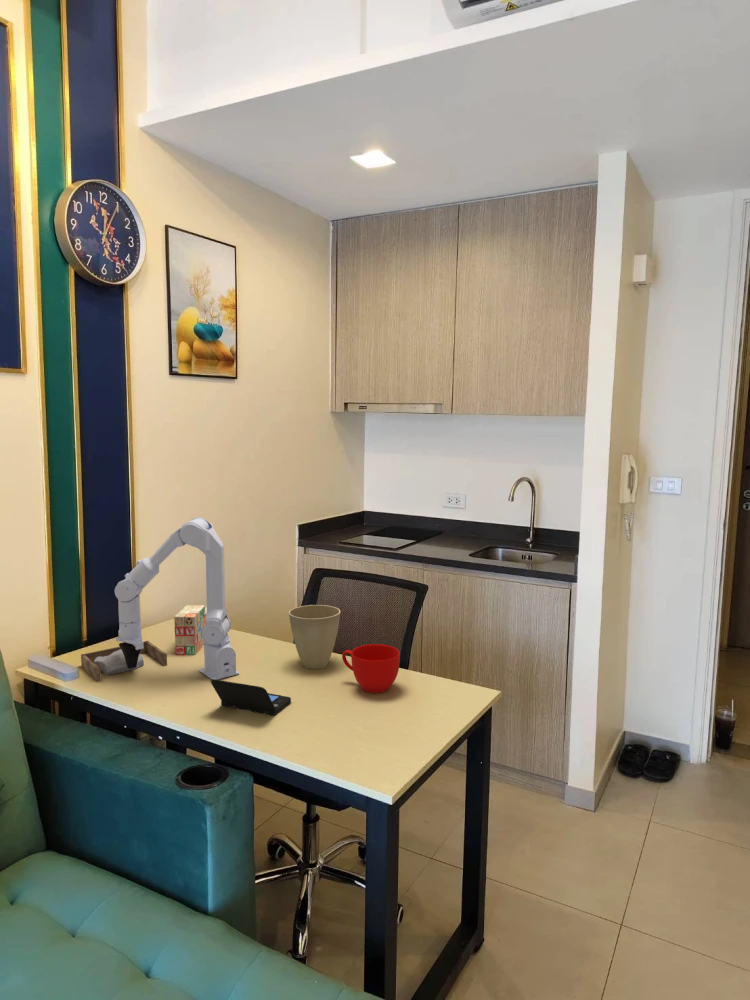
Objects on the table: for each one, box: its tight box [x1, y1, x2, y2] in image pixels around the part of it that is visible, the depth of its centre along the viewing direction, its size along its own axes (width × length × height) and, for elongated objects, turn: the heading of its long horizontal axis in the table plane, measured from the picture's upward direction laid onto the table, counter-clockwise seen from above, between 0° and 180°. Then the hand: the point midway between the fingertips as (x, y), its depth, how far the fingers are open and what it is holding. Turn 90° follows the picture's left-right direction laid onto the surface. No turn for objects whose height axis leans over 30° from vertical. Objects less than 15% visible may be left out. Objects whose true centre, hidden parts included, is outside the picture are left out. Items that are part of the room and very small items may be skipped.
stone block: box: [94, 649, 145, 676], centre depth 197 cm, size 12×5×10 cm
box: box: [80, 640, 168, 682], centre depth 198 cm, size 15×20×4 cm
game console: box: [210, 679, 292, 717], centre depth 170 cm, size 16×14×9 cm
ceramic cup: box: [341, 643, 401, 694], centre depth 183 cm, size 13×17×10 cm
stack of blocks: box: [173, 604, 207, 656], centre depth 217 cm, size 21×6×12 cm, turn 179°
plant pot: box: [288, 604, 341, 670], centre depth 199 cm, size 15×15×16 cm
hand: (131, 667), depth 193 cm, fingers closed
